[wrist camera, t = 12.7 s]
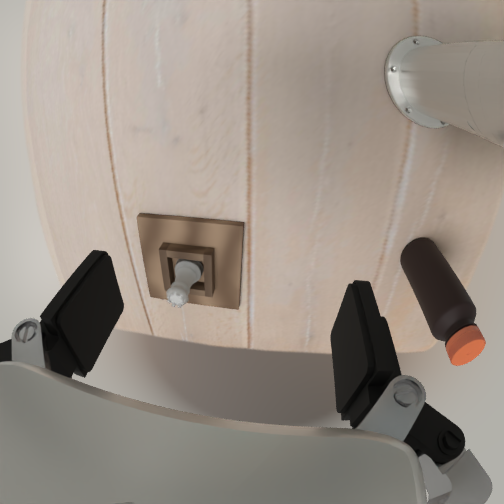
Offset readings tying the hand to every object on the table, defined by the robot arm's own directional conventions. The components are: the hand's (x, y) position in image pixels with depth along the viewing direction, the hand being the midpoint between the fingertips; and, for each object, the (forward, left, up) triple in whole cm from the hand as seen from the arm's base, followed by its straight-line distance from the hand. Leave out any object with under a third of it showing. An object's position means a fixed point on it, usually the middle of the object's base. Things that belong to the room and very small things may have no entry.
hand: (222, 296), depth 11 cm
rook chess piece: (+10, +20, -27) cm, 35 cm away
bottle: (-26, +14, -28) cm, 41 cm away
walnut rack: (+10, +20, -28) cm, 36 cm away
